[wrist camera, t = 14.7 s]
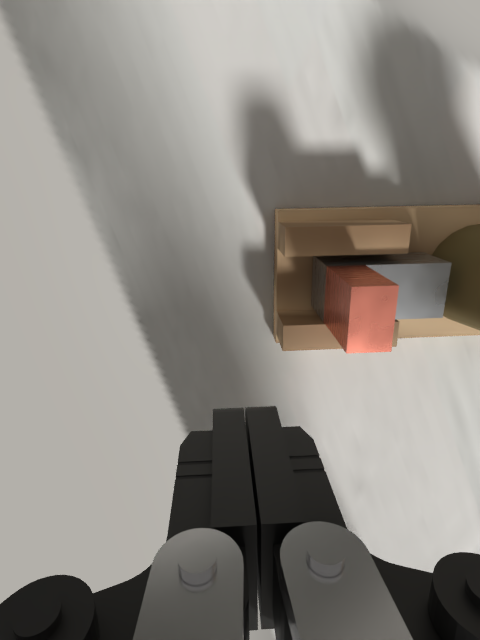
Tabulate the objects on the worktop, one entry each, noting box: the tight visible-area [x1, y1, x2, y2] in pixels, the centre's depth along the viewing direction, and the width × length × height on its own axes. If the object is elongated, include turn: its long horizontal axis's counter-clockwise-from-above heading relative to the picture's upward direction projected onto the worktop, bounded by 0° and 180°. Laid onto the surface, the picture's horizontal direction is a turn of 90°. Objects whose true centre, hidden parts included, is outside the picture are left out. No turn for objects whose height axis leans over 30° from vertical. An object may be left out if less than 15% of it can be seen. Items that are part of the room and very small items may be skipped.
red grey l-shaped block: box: [311, 252, 452, 353], centre depth 21 cm, size 3×6×7 cm, turn 91°
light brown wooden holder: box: [273, 204, 480, 351], centre depth 23 cm, size 8×17×5 cm, turn 91°
